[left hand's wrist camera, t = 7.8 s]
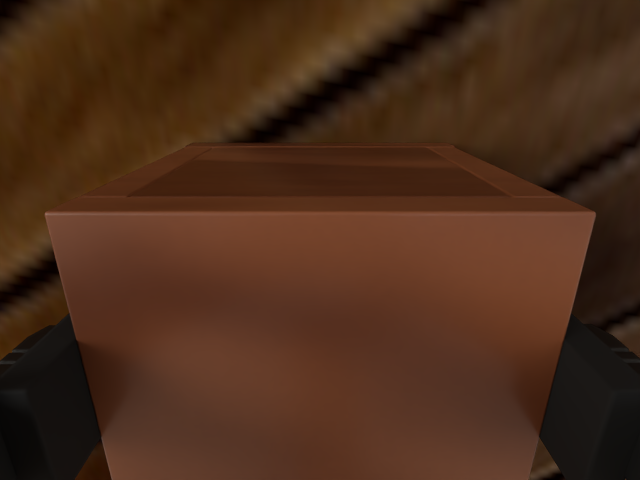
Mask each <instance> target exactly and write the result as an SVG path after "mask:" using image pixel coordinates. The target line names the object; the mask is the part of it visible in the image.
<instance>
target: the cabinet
mask: <svg viewBox="0 0 640 480" xmlns="http://www.w3.org/2000/svg"><path fill="white" fill-rule="evenodd" d="M595 217H596V213H595V212H594V211H592V210H590V209H588V208H586V207H583V206H581V205H579V204H577V203H575V202H573V201H570V200H568V199H566V198H564V197H561V196H559V195H556V194H554V193H552V192H550V191H548V190H546V189H543V188H541V187H539V186H537V185H535V184H533V183H530V182H528V181H526V180H524V179H522V178H520V177H517V176H515V175H513V174H511V173H509V172H507V171H504V170H502V169H500V168H498V167H496V166H494V165H491V164H489V163H487V162H485V161H483V160H481V159H479V158H476V157H474V156H472V155H470V154H468V153H466V152H463V151H461V150H459V149H457V148H455V146H453V145H451V144H449V143H191V144H189V145H187V146H185V148H183V149H181V150H179V151H177V152H175V153H172V154H170V155H168V156H166V157H164V158H162V159H159V160H157V161H155V162H153V163H151V164H149V165H147V166H144V167H142V168H140V169H138V170H136V171H134V172H131V173H129V174H127V175H125V176H123V177H121V178H119V179H116V180H114V181H112V182H110V183H108V184H106V185H103V186H101V187H99V188H97V189H95V190H93V191H90V192H88V193H86V194H84V195H82V196H80V197H77V198H74V199H72V200H70V201H68V202H66V203H64V204H61V205H59V206H57V207H55V208H53V209H51V210H48V211H46V212H45V218H46V222H47V226H48V230H49V234H50V238H51V242H52V246H53V250H54V254H55V258H56V262H57V266H58V270H59V273H60V277H61V281H62V285H63V289H64V293H65V297H66V301H67V305H68V309H69V313H70V317H71V321H72V325H73V328H74V332H75V336H76V340H77V344H78V348H79V352H80V356H81V360H82V364H83V368H84V372H85V376H86V380H87V384H88V387H89V391H90V395H91V399H92V403H93V407H94V411H95V415H96V419H97V423H98V427H99V431H100V435H101V439H102V442H103V446H104V450H105V454H106V458H107V462H108V466H109V470H110V474H111V478H112V480H529V476H530V472H531V468H532V464H533V460H534V456H535V452H536V448H537V444H538V440H539V437H540V433H541V429H542V425H543V421H544V417H545V413H546V409H547V405H548V401H549V397H550V393H551V390H552V386H553V382H554V378H555V374H556V370H557V366H558V362H559V358H560V354H561V350H562V347H563V343H564V339H565V335H566V331H567V327H568V323H569V319H570V315H571V311H572V307H573V303H574V300H575V296H576V292H577V288H578V284H579V280H580V276H581V272H582V268H583V264H584V260H585V257H586V253H587V249H588V245H589V241H590V237H591V233H592V229H593V225H594V221H595Z"/></svg>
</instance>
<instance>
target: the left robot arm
mask: <svg viewBox="0 0 640 480" xmlns="http://www.w3.org/2000/svg"><path fill="white" fill-rule="evenodd" d="M12 351H13V352H12V353H9V354H8V355H6V356H5V357H4V358H3V359H2V360H1V361H0V480H74V479H75V478H76V476H77V475H78V473H79V471H80V470H81V468H82V467H83V465H84V463H85V462H86V460H87V459H88V457H89V455H90V454H91V452H92V451H93V449H94V447H95V446H96V444H97V443H98V441H99V439H100V438H101V435H100V431H99V427H98V423H97V419H96V415H95V411H94V407H93V403H92V399H91V395H90V391H89V387H88V384H87V380H86V376H85V372H84V368H83V364H82V360H81V356H80V352H79V348H78V344H77V340H76V336H75V332H74V328H73V325H72V321H71V317H70V313H69V314H68V315H67V316H66V317H65V318H64V319H62V320H61V321H60V322H59V323H58V324H57V325H49V326H47V327H45V328H44V329H42V330H40V331H38V332H36V333H34V334H32V335H31V336H29V337H27V338H26V339H25V340H24V341H23V342H22V343H20V344H19V345H18V346H17V347H16V348H15V349H13V350H12ZM540 439H541V440H542V442H543V443H544V445H545V447H546V448H547V450H548V451H549V453H550V455H551V456H552V458H553V459H554V461H555V463H556V464H557V466H558V467H559V469H560V471H561V472H562V474H563V475H564V477H565V479H566V480H625V478H626V479H627V480H640V358H639V357H637V356H636V355H635V354H634V353H633V352H629V349H628V348H627V347H626V346H625V345H623V344H622V343H621V342H620V341H619V340H618V339H616V338H615V337H614V336H613V335H611V334H609V333H607V332H605V331H603V330H602V329H600V328H598V327H596V326H594V325H592V324H582V323H581V322H580V321H579V320H578V319H577V318H576V317H575V316H574V315H573V314H571V315H570V319H569V323H568V327H567V331H566V335H565V339H564V343H563V347H562V350H561V354H560V358H559V362H558V366H557V370H556V374H555V378H554V382H553V386H552V390H551V393H550V397H549V401H548V405H547V409H546V413H545V417H544V421H543V425H542V429H541V433H540Z"/></svg>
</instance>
